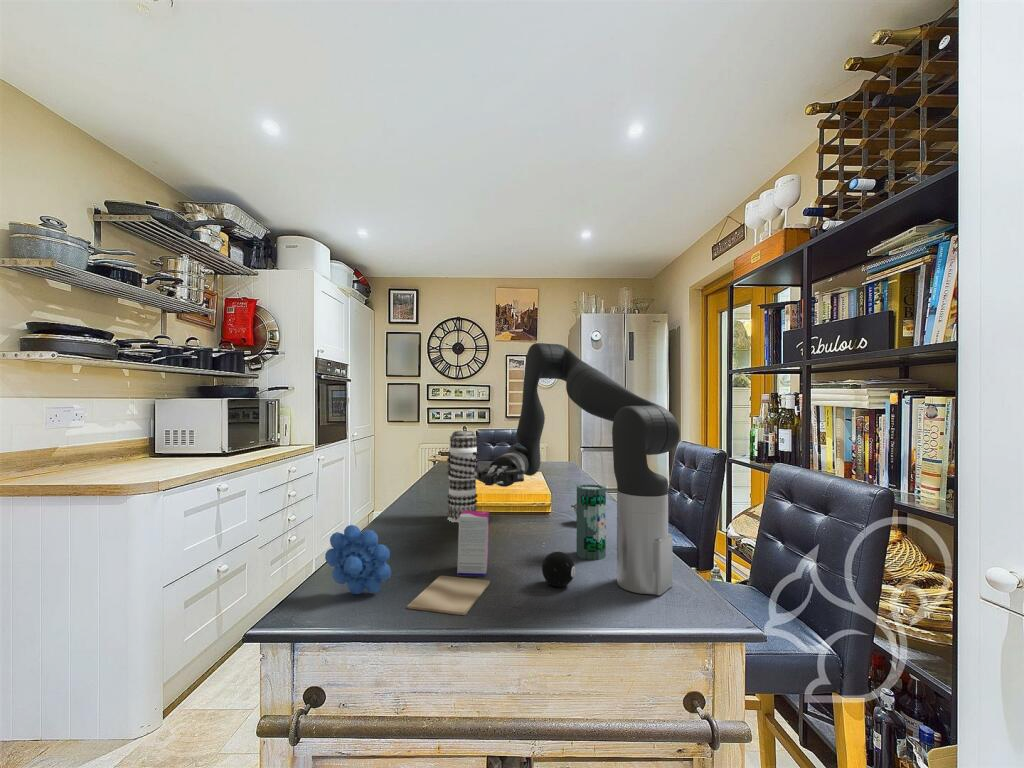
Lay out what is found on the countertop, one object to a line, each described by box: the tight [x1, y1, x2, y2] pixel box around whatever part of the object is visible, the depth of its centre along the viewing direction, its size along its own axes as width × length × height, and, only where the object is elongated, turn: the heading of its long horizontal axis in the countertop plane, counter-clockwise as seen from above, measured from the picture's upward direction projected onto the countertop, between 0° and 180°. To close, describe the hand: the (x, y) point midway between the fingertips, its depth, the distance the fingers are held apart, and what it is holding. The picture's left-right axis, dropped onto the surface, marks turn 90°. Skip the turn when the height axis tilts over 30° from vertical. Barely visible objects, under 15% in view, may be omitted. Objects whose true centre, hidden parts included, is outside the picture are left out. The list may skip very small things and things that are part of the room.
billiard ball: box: [541, 551, 576, 588], centre depth 89 cm, size 6×6×6 cm
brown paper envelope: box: [406, 575, 491, 616], centre depth 84 cm, size 14×10×1 cm
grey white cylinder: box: [446, 430, 480, 524], centre depth 138 cm, size 9×9×25 cm
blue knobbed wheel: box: [324, 524, 392, 596], centre depth 84 cm, size 12×7×12 cm, turn 89°
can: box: [575, 483, 607, 561], centre depth 107 cm, size 6×6×15 cm
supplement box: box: [456, 510, 490, 577], centre depth 96 cm, size 6×6×12 cm
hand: (488, 480), depth 106 cm, fingers closed
